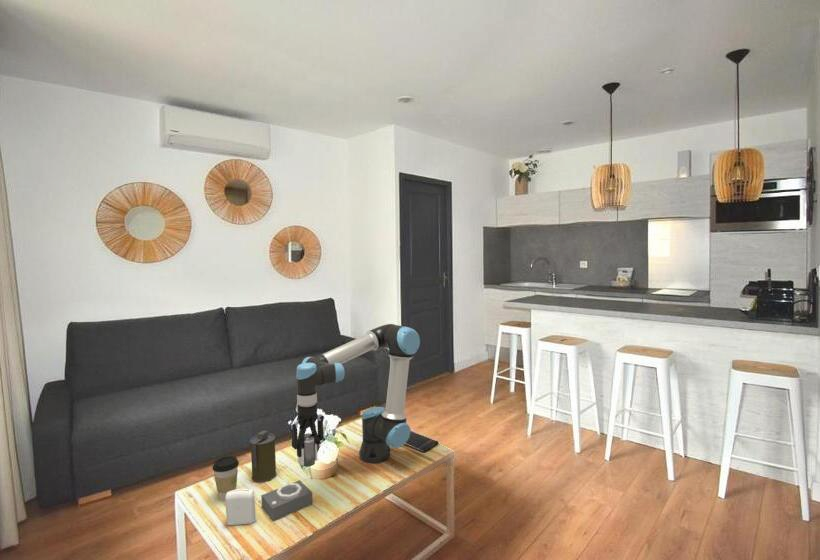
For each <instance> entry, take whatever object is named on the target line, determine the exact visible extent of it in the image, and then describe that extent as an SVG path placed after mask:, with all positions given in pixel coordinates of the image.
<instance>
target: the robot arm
mask: <svg viewBox="0 0 820 560" xmlns="http://www.w3.org/2000/svg"><path fill="white" fill-rule="evenodd" d="M420 344H421V339H420V336H419V333H418V332H417V331H416V330H415V329H414V328H411V327H408V326H403V325H397V324H393V323H387V324H383V325H381V326H377V327H375V328H372V329H371V330H370V329H369V330H367V332H366V333H365V334H364V335H362V336H359V337H358V338H355V339H353V340H351V341H349V342H347V343H344V344H342V345H340V346H338V347H335V348H333V349H331V350H329V351H326V352H324V353H322V354H319V355H316V356H315V357H314V356H307V357H305V358H303V360H302V362H301V363H300V364H298V365H297V367H296V374H295V375H296V377H295V378H296V403H297V406H296V407H297V410H296V411H297V412H296V414H297V418H296V420H295V421H294V422H290V423H289V425H290V428H291V447H292V448H293V449H294V450H296V456H297V457H298V463H299V465H301V466H302V467H304V466H303V465H304V449H303V448H302V445H303V440H304V435H305V434H306V432H307V429H308V428H310V433H311V434H313V435H314V437H315V462H316V461H318V452H319V450H320V444H321V442H322V441H324V420H325V416H324V415H322V414H321V413H320V414H318V403H317V402H318V387H321V386H325V385H330V384H335V383H338V382H341V381H343V380H344V378H345V373H346V372H345V368H344V366H343V364H344V363H347V362H349V361H351V360H354V359H355V358H357V357H359V356H361V355H364V354H365V353H368V352H370V351H377V350H380V349H388V353H387V355H388V357H389V358H390V365H389V374H388V383H387V391H386V401H385V402H386V403H385V407H384V406H373V407H369V408H366V409H364V410H363V412H362V413H361V415H362V416H361V423H362V424H361V426H362V428H361V429H362V430H361V431H362V441H361V445H360V449H359V453H358V455H359V456H358V457H359V459H360V461H363V462H365V463H368V464H378V463H383V462H386V461H387V460H389V459H390V457H391V453H392V452H391V448H390V447H392V448H395V449H398V448H402V446H404V445H405V444H406V443H407V442H408V440H409V438H410V435H411V427H410V425H409V424H408V423H407V418H408V416H407V414H406V413H405V406H406V405H405V404H406V395H407V386H408V377H409V367H410V360H412V359H413V358H414V354H416V353H417V352H418V350H419V348H420ZM316 421H317V422H316ZM316 423H317V426H316ZM298 425H299V426H298ZM388 458H389V459H388ZM385 460H386V461H385Z"/></svg>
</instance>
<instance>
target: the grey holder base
mask: <svg viewBox="0 0 820 560" xmlns="http://www.w3.org/2000/svg"><path fill="white" fill-rule="evenodd" d="M260 497H261V508H262V509H263V511H264V512H265V513H266V515H267V516H268V517H269V519H270V520H271V521H272V522H274V521H277V520H279V519H282V518H284V517H287V516H288V515H291V514H293V513H296V512H298V511H300V510H302V509H305V508H306V507H310V506H311V505H313V491H312V490H311V489H310V488H309V487H307V486H306V484H304V482H303V481H301V480H297V481H295V482H289V483H286V484H283V485H281V486H279V487H278V488H277V489H274V490H272V491H269V492H267V493H263V494H261V495H260Z"/></svg>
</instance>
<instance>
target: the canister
mask: <svg viewBox="0 0 820 560" xmlns="http://www.w3.org/2000/svg"><path fill="white" fill-rule="evenodd" d="M249 442H250V453H251V454H250V456H251V480H252V481H253V482H254V483H258V484H259V483H268V482H270V481H273V480H274V479H275V478H276V477H277V464H276V463H277V461H276V435H275V434H273V433H269V431H268V430H264V429H263V430H262V431H259V432H258V433H257V435H254V436H253V437H251V438H250V440H249Z"/></svg>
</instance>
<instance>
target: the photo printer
mask: <svg viewBox="0 0 820 560" xmlns="http://www.w3.org/2000/svg"><path fill="white" fill-rule="evenodd" d="M255 497H256V496H255V491H254V490H253V489H250V488H236V490H232V491H229V492H227V494H226V498H225V501H224V503H225V514H226V515H225V516H226V517H225V518H226V525H227V526H237V525H248V524H253V523H254V522H256V519H257V517H256V515H257V513H256V503H255V502H256V499H255Z"/></svg>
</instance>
